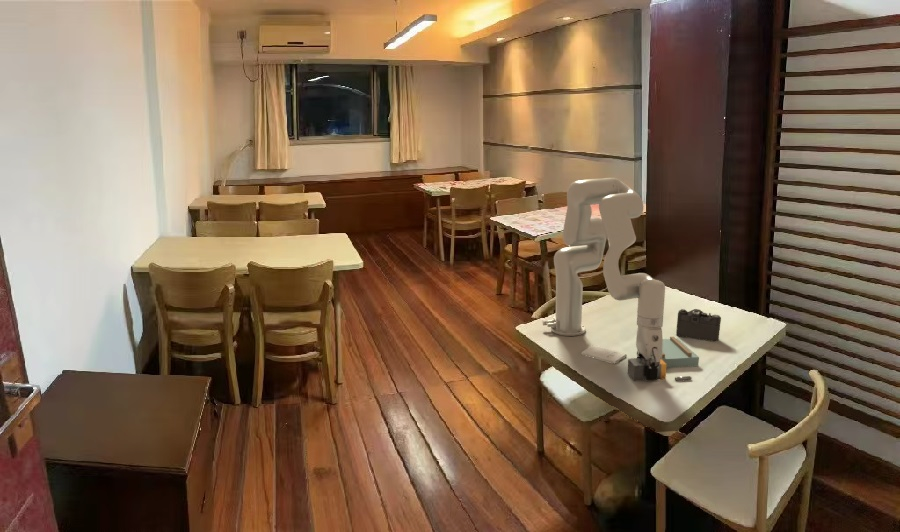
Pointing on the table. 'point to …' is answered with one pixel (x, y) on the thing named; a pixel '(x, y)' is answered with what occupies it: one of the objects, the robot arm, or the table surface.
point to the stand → (678, 354)
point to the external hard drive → (604, 354)
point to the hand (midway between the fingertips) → (646, 373)
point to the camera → (698, 325)
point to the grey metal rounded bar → (683, 378)
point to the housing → (644, 369)
